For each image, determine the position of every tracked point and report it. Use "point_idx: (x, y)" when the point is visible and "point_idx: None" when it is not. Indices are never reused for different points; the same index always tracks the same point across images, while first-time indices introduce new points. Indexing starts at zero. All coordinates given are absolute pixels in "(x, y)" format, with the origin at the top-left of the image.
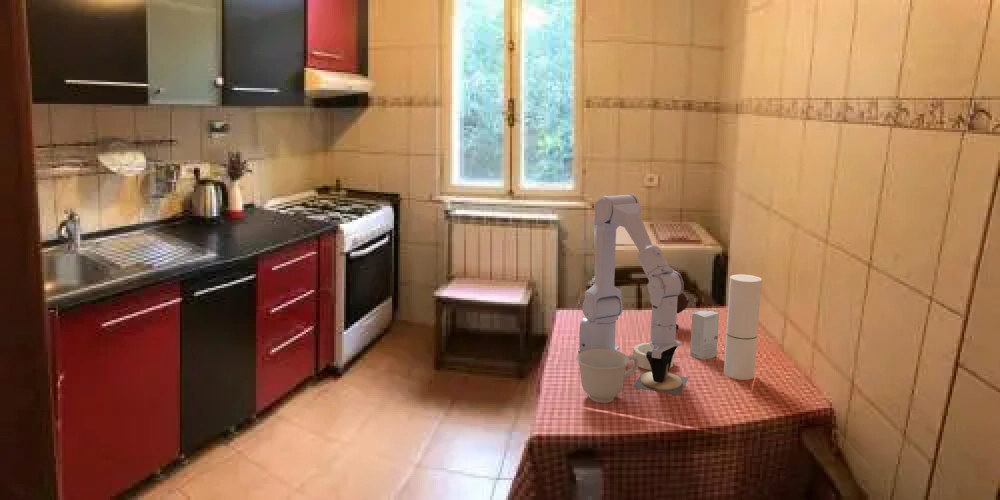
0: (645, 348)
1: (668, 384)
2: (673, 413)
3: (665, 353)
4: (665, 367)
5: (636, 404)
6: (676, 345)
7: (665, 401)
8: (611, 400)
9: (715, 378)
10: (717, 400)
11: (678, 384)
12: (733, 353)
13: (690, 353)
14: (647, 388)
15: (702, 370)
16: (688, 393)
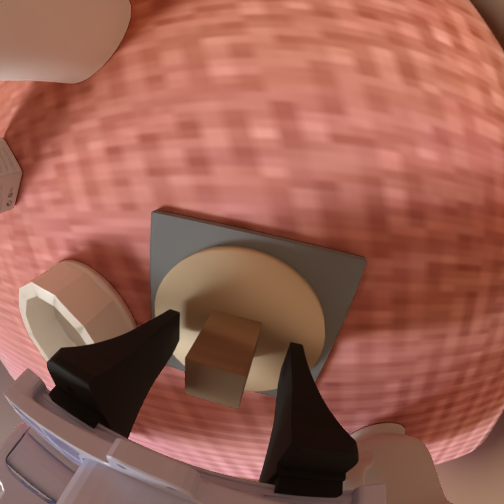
0: (53, 347)
1: (289, 313)
2: (488, 286)
3: (131, 385)
4: (327, 407)
5: (417, 383)
6: (199, 484)
7: (406, 312)
8: (398, 429)
9: (117, 99)
10: (370, 86)
11: (279, 270)
12: (32, 17)
13: (8, 209)
14: (311, 370)
15: (68, 158)
16: (318, 215)
